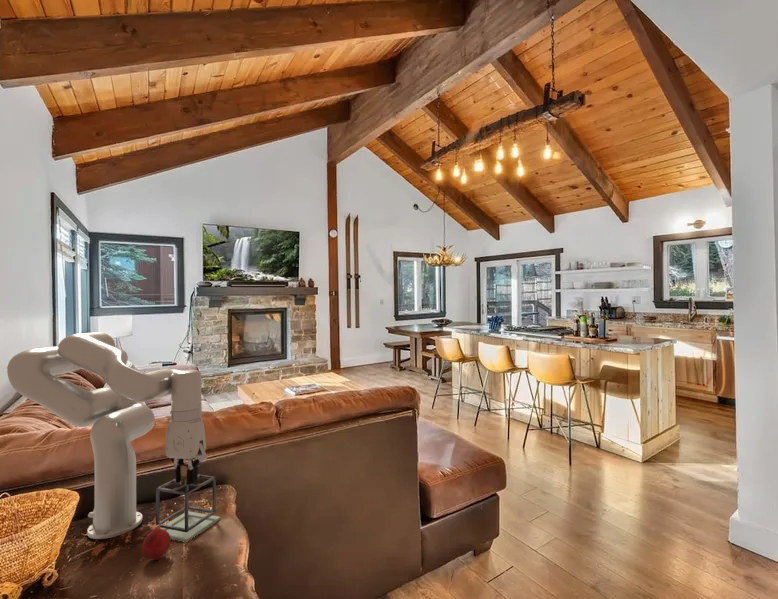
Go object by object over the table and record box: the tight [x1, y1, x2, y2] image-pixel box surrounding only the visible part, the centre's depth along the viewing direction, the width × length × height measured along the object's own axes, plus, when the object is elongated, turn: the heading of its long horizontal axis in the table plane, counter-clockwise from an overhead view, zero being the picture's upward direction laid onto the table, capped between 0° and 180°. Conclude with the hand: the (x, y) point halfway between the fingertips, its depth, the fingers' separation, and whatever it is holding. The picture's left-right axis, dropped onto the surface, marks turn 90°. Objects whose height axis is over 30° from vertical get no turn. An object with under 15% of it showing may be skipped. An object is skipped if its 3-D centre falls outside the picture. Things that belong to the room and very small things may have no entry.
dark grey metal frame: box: [155, 461, 217, 533], centre depth 108 cm, size 10×10×15 cm
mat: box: [160, 510, 221, 543], centre depth 107 cm, size 12×12×1 cm
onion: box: [141, 524, 172, 561], centre depth 93 cm, size 6×6×8 cm
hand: (186, 481), depth 108 cm, fingers closed on dark grey metal frame, 3 cm apart
